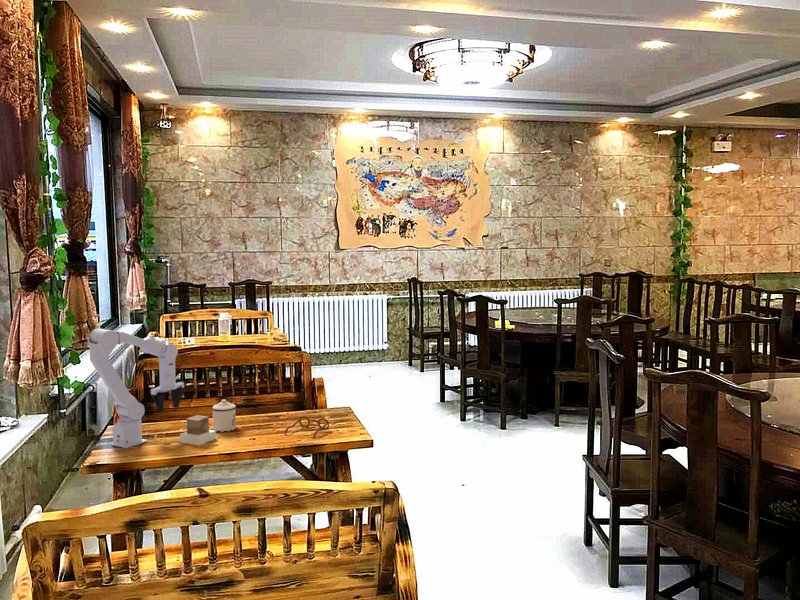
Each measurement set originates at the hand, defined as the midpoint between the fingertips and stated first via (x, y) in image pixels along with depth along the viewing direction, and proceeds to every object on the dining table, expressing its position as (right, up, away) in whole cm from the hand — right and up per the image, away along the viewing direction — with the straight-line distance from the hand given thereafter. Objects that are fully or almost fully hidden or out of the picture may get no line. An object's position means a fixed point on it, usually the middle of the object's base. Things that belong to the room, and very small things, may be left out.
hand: (168, 409), depth 252 cm
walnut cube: (+14, -7, -8) cm, 17 cm away
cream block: (+14, -11, -8) cm, 19 cm away
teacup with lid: (+19, -9, +9) cm, 23 cm away
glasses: (+52, -10, +3) cm, 53 cm away
